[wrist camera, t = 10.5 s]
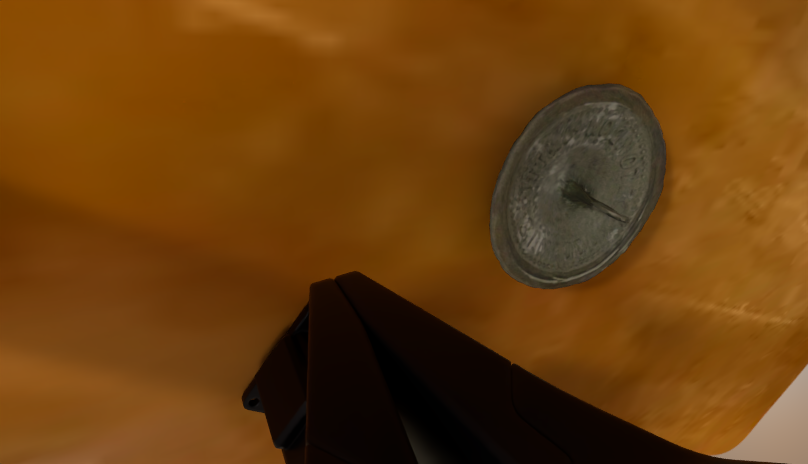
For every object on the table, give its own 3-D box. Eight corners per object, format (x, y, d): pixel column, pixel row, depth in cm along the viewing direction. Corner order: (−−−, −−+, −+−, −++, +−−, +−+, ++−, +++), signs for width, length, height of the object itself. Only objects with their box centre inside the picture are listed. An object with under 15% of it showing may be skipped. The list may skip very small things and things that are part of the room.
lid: (473, 273, 31) (531, 341, 28) (456, 149, 23) (534, 226, 20) (620, 181, 33) (687, 236, 30) (651, 37, 25) (747, 93, 22)
